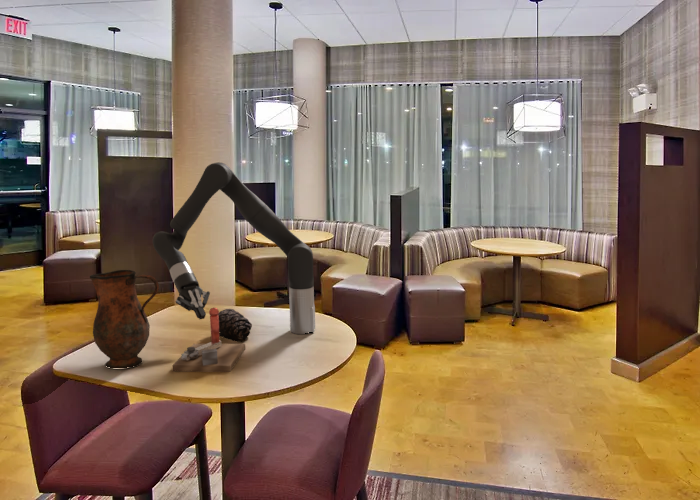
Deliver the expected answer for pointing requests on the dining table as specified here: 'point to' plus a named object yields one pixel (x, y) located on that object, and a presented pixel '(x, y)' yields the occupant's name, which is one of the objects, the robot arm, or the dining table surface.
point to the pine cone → (233, 326)
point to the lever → (214, 337)
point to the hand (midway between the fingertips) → (202, 317)
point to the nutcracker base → (222, 356)
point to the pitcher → (120, 317)
